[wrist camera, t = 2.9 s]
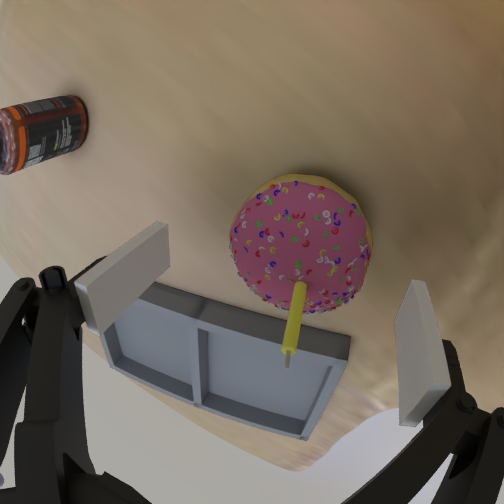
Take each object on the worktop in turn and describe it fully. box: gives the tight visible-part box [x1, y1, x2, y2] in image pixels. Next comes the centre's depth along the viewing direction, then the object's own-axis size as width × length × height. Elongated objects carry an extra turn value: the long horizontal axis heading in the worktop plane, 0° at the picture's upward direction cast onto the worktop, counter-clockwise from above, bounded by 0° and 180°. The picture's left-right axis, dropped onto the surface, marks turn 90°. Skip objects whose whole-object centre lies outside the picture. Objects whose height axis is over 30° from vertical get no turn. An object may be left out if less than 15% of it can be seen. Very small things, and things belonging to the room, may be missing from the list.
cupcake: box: [229, 174, 373, 369], centre depth 17 cm, size 9×8×12 cm
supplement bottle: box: [0, 95, 87, 175], centre depth 20 cm, size 6×6×11 cm
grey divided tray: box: [100, 282, 351, 441], centre depth 30 cm, size 27×15×3 cm, turn 85°
